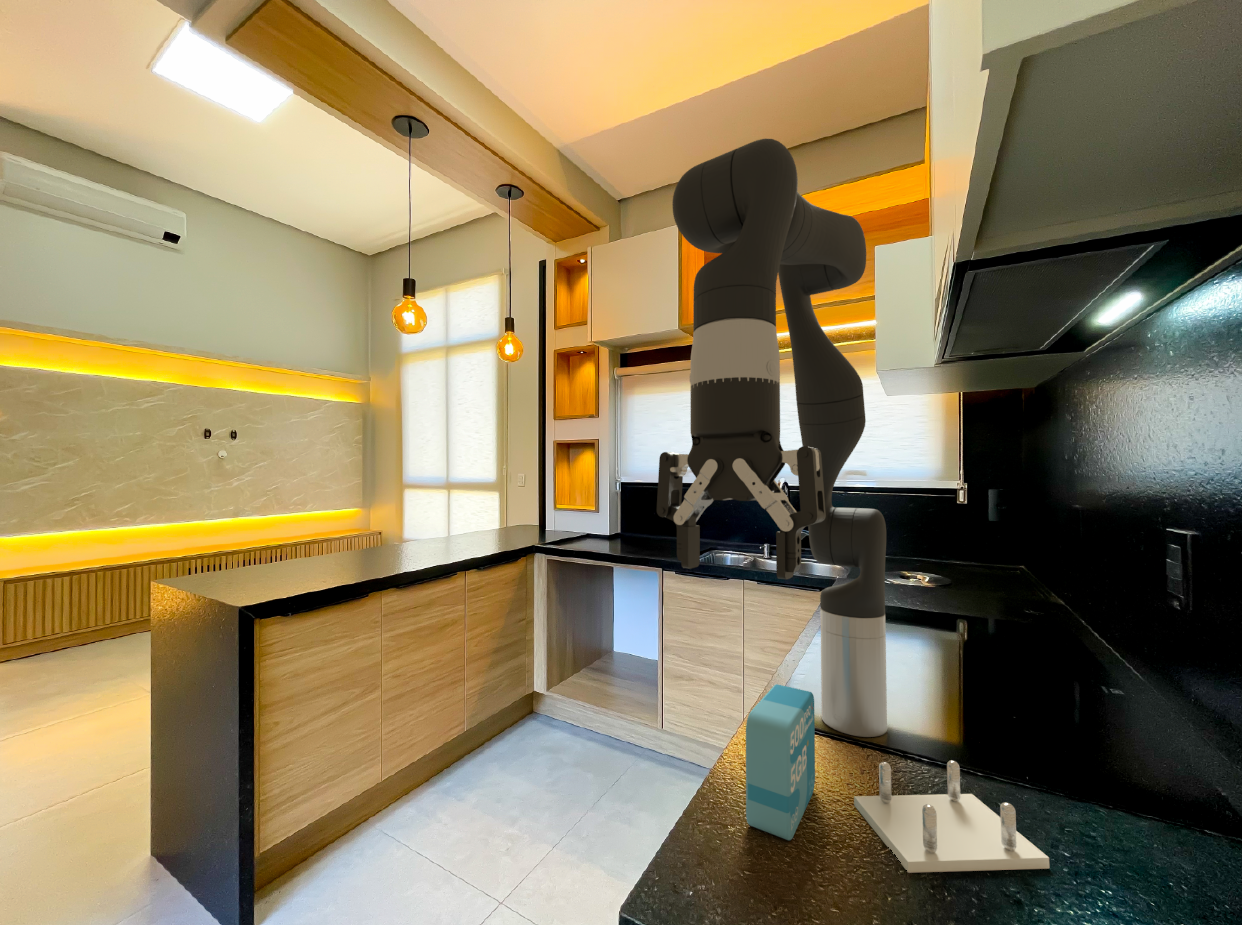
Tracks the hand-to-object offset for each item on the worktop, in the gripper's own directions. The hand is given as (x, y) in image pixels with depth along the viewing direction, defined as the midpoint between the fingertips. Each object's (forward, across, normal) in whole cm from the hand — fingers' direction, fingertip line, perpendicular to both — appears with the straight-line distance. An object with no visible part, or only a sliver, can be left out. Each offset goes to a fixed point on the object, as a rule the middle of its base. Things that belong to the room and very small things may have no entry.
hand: (734, 572), depth 42 cm
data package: (+30, +2, -18) cm, 35 cm away
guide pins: (+29, -13, -24) cm, 40 cm away
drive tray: (+29, -13, -24) cm, 40 cm away
